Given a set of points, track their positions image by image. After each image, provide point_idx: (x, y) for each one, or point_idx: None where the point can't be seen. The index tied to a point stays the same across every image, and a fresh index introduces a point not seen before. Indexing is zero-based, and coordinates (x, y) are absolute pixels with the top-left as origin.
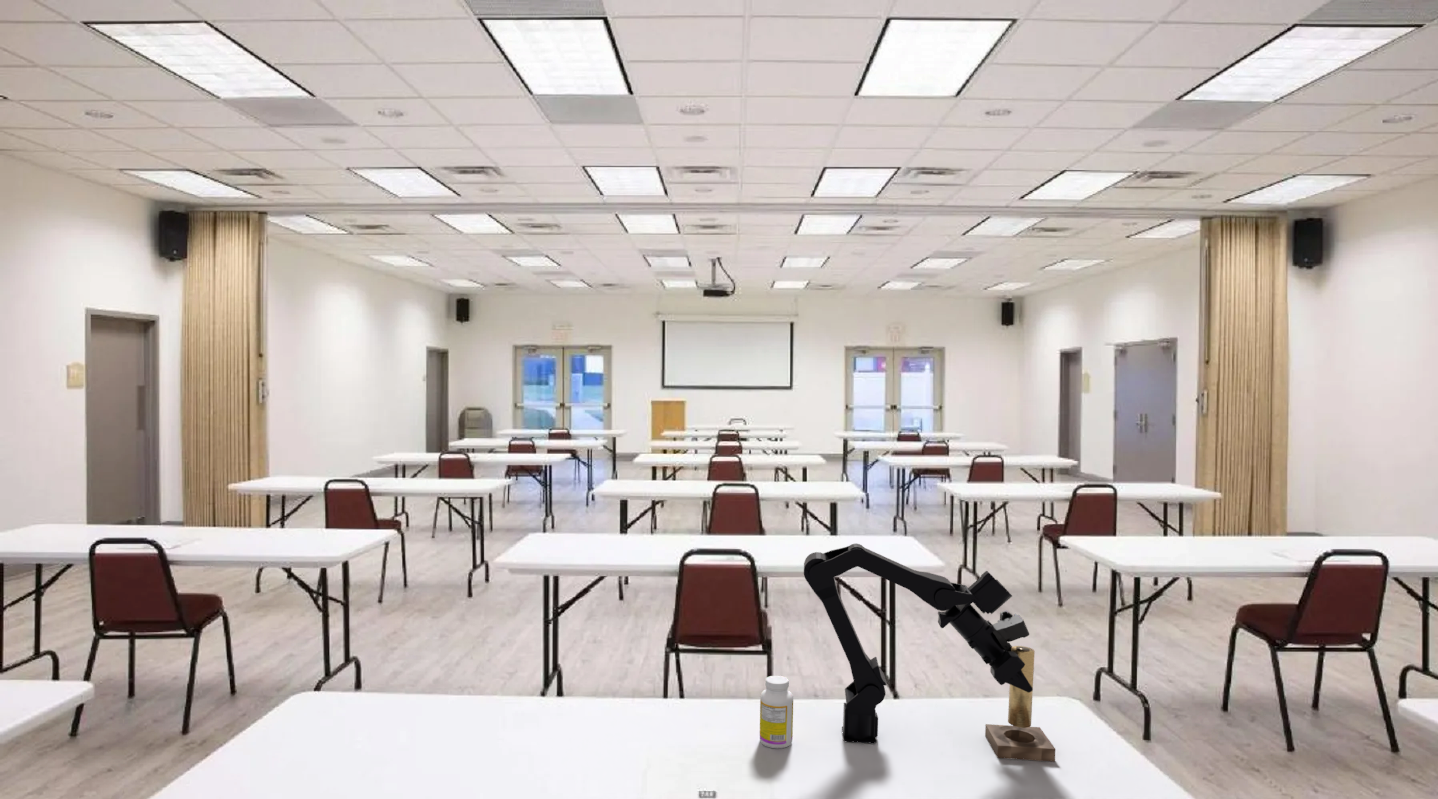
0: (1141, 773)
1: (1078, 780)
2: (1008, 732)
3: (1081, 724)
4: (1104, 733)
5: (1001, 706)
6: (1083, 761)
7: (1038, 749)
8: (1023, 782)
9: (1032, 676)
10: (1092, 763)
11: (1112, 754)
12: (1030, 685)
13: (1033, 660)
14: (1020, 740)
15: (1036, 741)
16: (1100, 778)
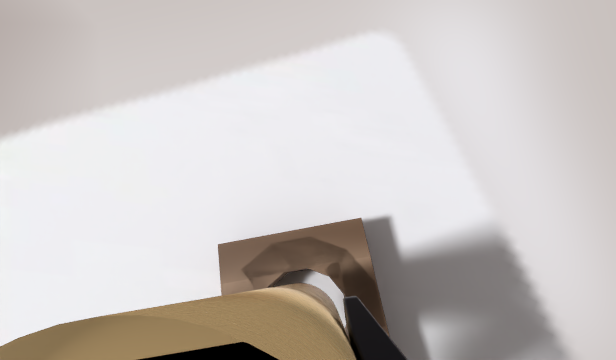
0: (348, 59)
1: (440, 182)
2: None
3: (118, 135)
4: (163, 96)
5: (8, 337)
6: (330, 158)
7: (372, 266)
8: (522, 323)
9: (309, 302)
10: (334, 141)
11: (272, 96)
12: (374, 319)
13: (286, 318)
14: None
15: (327, 266)
16: (407, 136)
